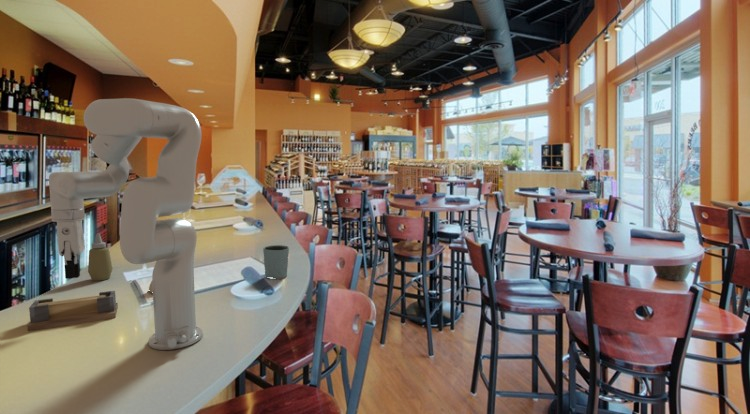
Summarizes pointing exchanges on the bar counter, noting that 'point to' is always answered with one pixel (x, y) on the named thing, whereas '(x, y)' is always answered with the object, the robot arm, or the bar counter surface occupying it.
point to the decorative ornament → (151, 287)
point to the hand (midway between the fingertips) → (72, 277)
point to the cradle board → (42, 318)
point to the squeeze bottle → (99, 260)
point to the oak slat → (72, 306)
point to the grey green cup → (276, 261)
